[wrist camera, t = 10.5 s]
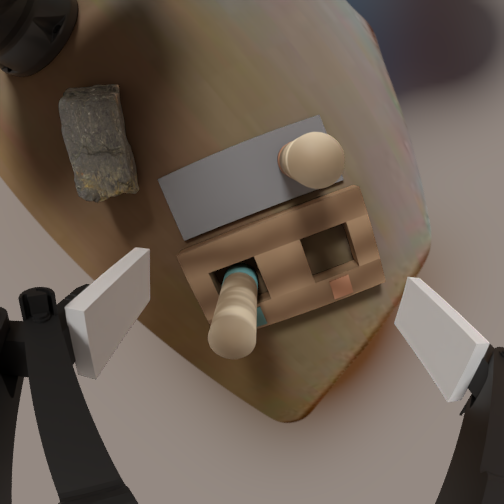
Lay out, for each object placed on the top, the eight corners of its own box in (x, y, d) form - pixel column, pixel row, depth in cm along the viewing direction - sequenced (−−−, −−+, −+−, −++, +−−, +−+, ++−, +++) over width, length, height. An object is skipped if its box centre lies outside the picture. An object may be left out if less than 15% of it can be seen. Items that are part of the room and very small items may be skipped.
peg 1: (250, 257, 38) (245, 312, 25) (262, 287, 39) (263, 351, 26) (219, 269, 39) (198, 327, 25) (232, 298, 40) (219, 364, 26)
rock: (170, 168, 31) (92, 222, 30) (172, 172, 37) (107, 217, 37) (97, 49, 26) (27, 101, 25) (109, 70, 33) (48, 113, 32)
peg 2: (271, 149, 34) (278, 142, 21) (305, 137, 33) (333, 123, 20) (284, 183, 35) (299, 197, 22) (318, 170, 34) (353, 178, 21)
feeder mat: (158, 179, 36) (157, 179, 35) (318, 115, 33) (319, 114, 33) (184, 240, 38) (184, 240, 37) (342, 179, 35) (343, 179, 35)
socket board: (181, 250, 38) (175, 257, 35) (353, 184, 35) (359, 187, 33) (220, 331, 41) (218, 342, 39) (378, 274, 38) (386, 282, 36)
